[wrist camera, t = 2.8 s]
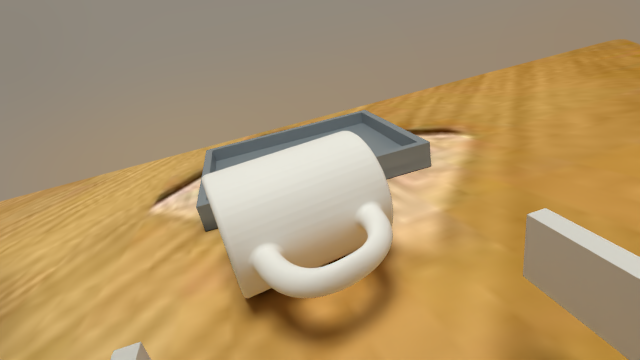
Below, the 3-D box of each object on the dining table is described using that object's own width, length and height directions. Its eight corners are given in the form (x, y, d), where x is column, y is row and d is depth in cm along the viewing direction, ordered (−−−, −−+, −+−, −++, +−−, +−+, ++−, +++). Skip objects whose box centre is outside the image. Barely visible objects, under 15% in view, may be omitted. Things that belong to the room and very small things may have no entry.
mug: (229, 256, 26) (195, 161, 23) (344, 211, 29) (327, 120, 26) (275, 386, 16) (223, 247, 13) (444, 295, 19) (437, 164, 16)
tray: (205, 231, 30) (196, 207, 29) (212, 167, 46) (206, 150, 45) (430, 166, 34) (429, 142, 33) (367, 127, 49) (364, 109, 48)
